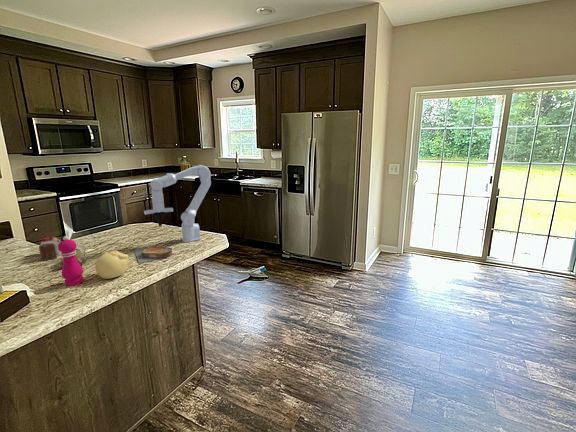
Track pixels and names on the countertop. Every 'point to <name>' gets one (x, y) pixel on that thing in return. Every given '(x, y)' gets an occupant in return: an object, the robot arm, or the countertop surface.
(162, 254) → the tin
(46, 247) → the food item
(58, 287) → the countertop surface
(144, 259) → the mat
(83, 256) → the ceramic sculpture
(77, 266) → the pepper mill
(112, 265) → the sculpture
